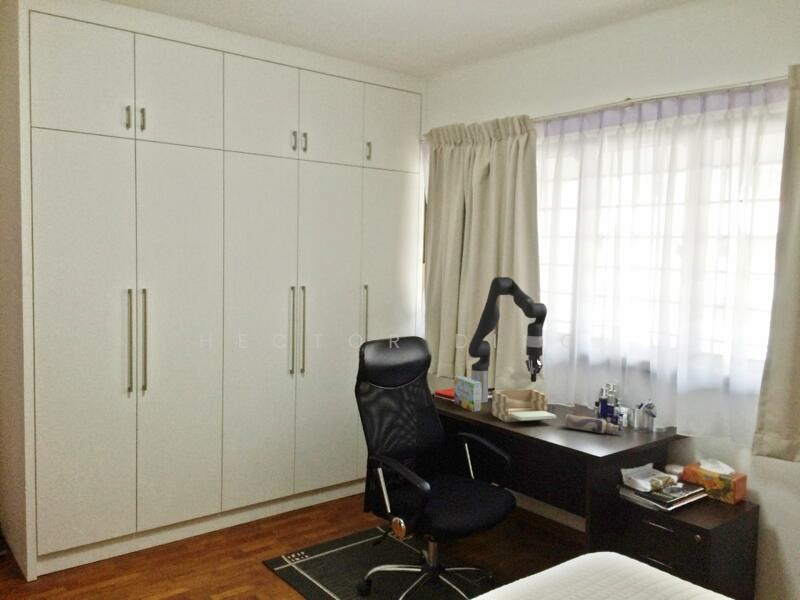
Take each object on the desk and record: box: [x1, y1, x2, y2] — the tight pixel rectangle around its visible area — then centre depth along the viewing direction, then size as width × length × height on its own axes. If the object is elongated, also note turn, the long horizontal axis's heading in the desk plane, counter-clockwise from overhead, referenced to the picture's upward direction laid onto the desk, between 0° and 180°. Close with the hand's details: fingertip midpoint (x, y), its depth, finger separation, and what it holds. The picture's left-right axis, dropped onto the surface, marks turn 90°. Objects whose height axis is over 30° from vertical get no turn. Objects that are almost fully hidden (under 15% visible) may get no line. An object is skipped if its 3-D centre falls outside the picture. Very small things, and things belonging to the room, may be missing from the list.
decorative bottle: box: [564, 413, 624, 435], centre depth 306 cm, size 26×8×7 cm, turn 59°
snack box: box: [453, 375, 482, 413], centre depth 352 cm, size 21×6×15 cm, turn 23°
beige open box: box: [491, 388, 548, 423], centre depth 333 cm, size 16×22×12 cm
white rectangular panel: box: [509, 411, 557, 422], centre depth 319 cm, size 2×18×12 cm
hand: (533, 381), depth 318 cm, fingers closed
